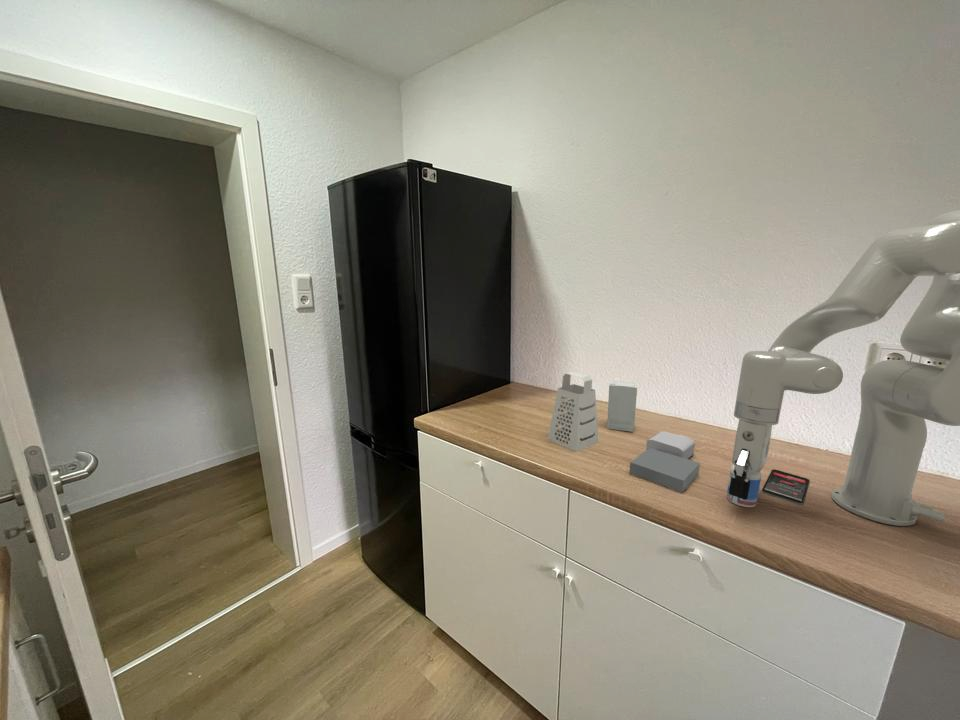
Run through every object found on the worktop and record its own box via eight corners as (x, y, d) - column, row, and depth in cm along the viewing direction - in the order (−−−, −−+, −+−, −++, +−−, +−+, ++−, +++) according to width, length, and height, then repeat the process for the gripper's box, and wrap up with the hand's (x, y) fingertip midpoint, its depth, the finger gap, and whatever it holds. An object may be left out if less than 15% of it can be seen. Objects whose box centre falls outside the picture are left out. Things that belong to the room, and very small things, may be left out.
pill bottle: (761, 503, 82) (769, 461, 80) (748, 511, 79) (756, 467, 77) (733, 491, 86) (740, 451, 84) (720, 498, 83) (727, 456, 81)
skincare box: (634, 426, 124) (638, 382, 121) (633, 433, 118) (638, 387, 115) (607, 422, 127) (611, 379, 124) (605, 428, 121) (609, 383, 118)
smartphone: (810, 479, 92) (802, 504, 81) (809, 482, 92) (802, 507, 81) (772, 468, 97) (761, 490, 86) (771, 471, 97) (760, 493, 86)
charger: (701, 449, 108) (681, 466, 98) (667, 439, 115) (645, 454, 104) (703, 434, 107) (683, 449, 97) (669, 424, 114) (647, 438, 103)
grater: (576, 451, 105) (581, 381, 101) (547, 439, 113) (550, 373, 109) (598, 442, 111) (604, 375, 107) (569, 430, 119) (573, 368, 115)
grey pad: (698, 474, 94) (700, 463, 93) (681, 492, 85) (683, 480, 85) (648, 458, 102) (649, 447, 101) (629, 473, 93) (630, 462, 93)
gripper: (771, 428, 70) (756, 512, 73) (785, 406, 82) (771, 480, 85) (724, 417, 75) (712, 496, 78) (744, 398, 87) (732, 468, 91)
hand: (743, 487), depth 82 cm, fingers open, 9 cm apart
